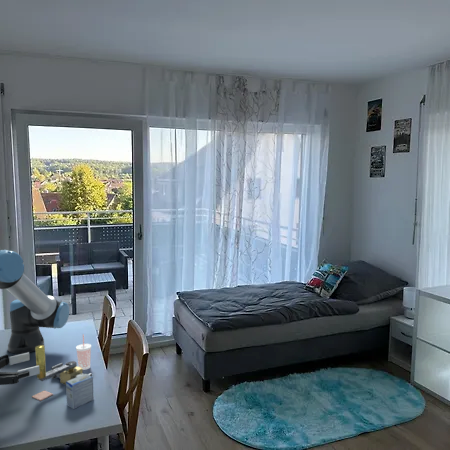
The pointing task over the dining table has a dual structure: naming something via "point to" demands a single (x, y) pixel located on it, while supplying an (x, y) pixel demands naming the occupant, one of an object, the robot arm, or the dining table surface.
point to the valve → (68, 373)
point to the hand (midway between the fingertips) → (34, 362)
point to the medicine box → (79, 390)
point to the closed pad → (42, 395)
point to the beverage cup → (84, 355)
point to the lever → (42, 366)
